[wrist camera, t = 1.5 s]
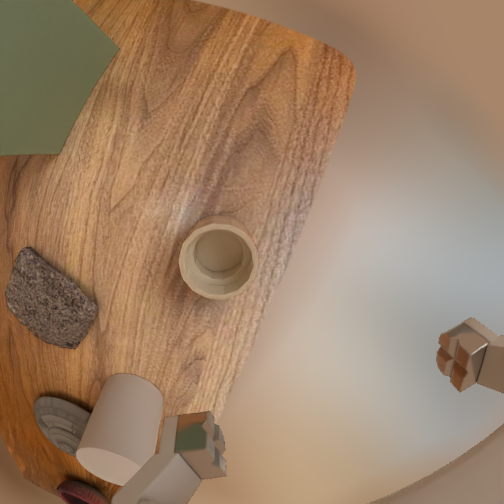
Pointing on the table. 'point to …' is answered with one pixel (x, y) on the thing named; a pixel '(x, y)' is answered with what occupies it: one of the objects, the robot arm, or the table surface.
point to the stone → (48, 301)
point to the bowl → (80, 493)
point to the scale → (46, 72)
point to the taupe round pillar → (121, 429)
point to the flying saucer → (61, 422)
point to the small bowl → (218, 258)
